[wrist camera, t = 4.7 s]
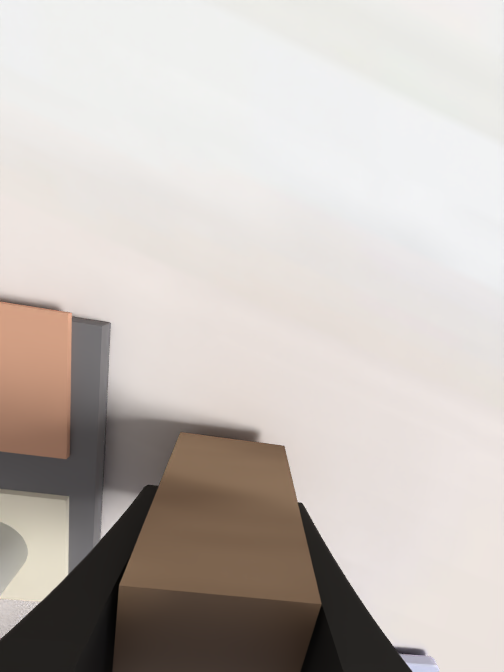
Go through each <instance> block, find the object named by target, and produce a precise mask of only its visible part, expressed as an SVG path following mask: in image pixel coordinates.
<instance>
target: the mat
mask: <svg viewBox="0 0 504 672" xmlns="http://www.w3.org/2000/svg"><path fill="white" fill-rule="evenodd" d="M110 326H111V323H108V322H101V321H95V320H89V319H82V318H76V317H72V313H70V312H63V311H57V310H51V309H44V308H38V307H32V306H25V305H19V304H13V303H6V302H0V522H2V523H4V524H7V525H8V526H10V527H12V528H13V529H15V530H16V531H17V532H18V533H19V534H20V535H21V536H22V538H23V539H24V541H25V543H26V545H27V549H28V556H27V559H26V562H25V563H24V565H23V566H22V567H21V569H20V570H19V571H18V573H17V574H16V575H15V577H14V578H13V579H12V581H11V582H10V583H9V585H8V586H7V587H6V589H5V590H4V591H3V593H2V594H1V595H0V599H8V600H21V601H33V602H41V601H42V600H43V599H44V598H45V597H46V596H47V595H48V594H49V593H50V592H51V591H52V590H53V589H55V588H56V587H57V586H58V585H59V584H60V583H61V582H62V581H63V580H64V578H65V577H66V576H67V575H68V574H69V573H70V572H71V571H72V570H73V569H74V568H75V567H76V566H77V565H78V564H79V563H80V562H81V561H82V560H83V559H84V558H85V557H86V556H87V555H88V553H89V552H90V551H91V550H92V549H93V548H94V547H95V546H96V545H97V544H98V543H99V541H100V532H101V511H102V491H103V470H104V450H105V429H106V408H107V388H108V367H109V346H110Z"/></svg>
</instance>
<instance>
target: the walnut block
mask: <svg viewBox="0 0 504 672" xmlns="http://www.w3.org/2000/svg"><path fill="white" fill-rule="evenodd" d="M320 607H321V600H320V595H319V591H318V587H317V583H316V578H315V574H314V570H313V566H312V561H311V557H310V553H309V549H308V544H307V540H306V536H305V532H304V528H303V523H302V519H301V515H300V511H299V506H298V502H297V498H296V494H295V489H294V485H293V481H292V477H291V472H290V468H289V464H288V460H287V455H286V451H285V447H284V446H281V445H274V444H266V443H259V442H251V441H244V440H237V439H229V438H222V437H214V436H207V435H199V434H192V433H184V432H180V434H179V437H178V439H177V442H176V444H175V447H174V449H173V452H172V454H171V457H170V459H169V462H168V464H167V467H166V469H165V472H164V474H163V477H162V479H161V482H160V484H159V487H158V489H157V492H156V494H155V497H154V499H153V502H152V504H151V507H150V509H149V512H148V514H147V517H146V519H145V522H144V524H143V527H142V529H141V532H140V534H139V537H138V539H137V542H136V544H135V547H134V549H133V552H132V554H131V557H130V559H129V562H128V564H127V567H126V569H125V572H124V574H123V577H122V579H121V582H120V584H119V593H118V606H117V619H116V631H115V644H114V657H113V670H112V672H300V671H301V668H302V665H303V662H304V658H305V655H306V652H307V649H308V646H309V642H310V639H311V636H312V633H313V630H314V627H315V623H316V620H317V617H318V614H319V611H320Z"/></svg>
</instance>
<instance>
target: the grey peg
mask: <svg viewBox="0 0 504 672" xmlns="http://www.w3.org/2000/svg"><path fill="white" fill-rule="evenodd" d="M27 556H28V549H27V545H26V543H25V541H24V539H23V538H22V536H21V535H20V534H19V533H18V532H17V531H16V530H15V529H13V528H12V527H10V526H8V525H7V524H4V523H2V522H0V595H1V594H2V593H3V591H4V590H5V589H6V587H7V586H8V585H9V583H10V582H11V581H12V579H13V578H14V577H15V575H16V574H17V573H18V571H19V570H20V569H21V567H22V566H23V565H24V563H25V562H26V559H27Z"/></svg>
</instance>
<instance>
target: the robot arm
mask: <svg viewBox="0 0 504 672" xmlns="http://www.w3.org/2000/svg"><path fill="white" fill-rule="evenodd" d="M158 487H159V486H154V485H147V486H145V487H144V488H143V490H142V491H141V492H140V494H139V495H138V496H137V498H136V499H135V500H134V501H133V503H132V504H131V505H130V506H129V508H128V509H127V510H126V511H125V513H124V514H123V515H122V516H121V517H120V519H119V520H118V521H117V522H116V523H115V524H114V526H113V527H112V528H111V529H110V530H109V531H108V532H107V533H106V535H105V536H104V537H103V538H102V539H101V540H100V541H99V543H98V544H97V545H96V546H95V547H94V548H93V549H92V550H91V551H90V552H89V553H88V555H87V556H86V557H85V558H84V559H83V560H82V561H81V562H80V563H79V564H78V565H77V566H76V567H75V568H74V569H73V570H72V571H71V572H70V573H69V574H68V575H67V576H66V577H65V578H64V580H63V581H62V582H61V583H60V584H59V585H58V586H57V587H56V588H55V589H53V590H52V591H51V592H50V593H49V594H48V595H47V596H46V597H45V598H44V599H43V600H42V601H41V602H40V603H39V604H38V605H37V606H36V607H35V608H34V609H33V610H32V611H31V612H30V613H29V614H27V615H26V616H25V617H24V618H23V619H22V620H21V621H20V622H19V623H18V624H17V625H16V626H15V627H14V628H12V629H11V630H10V631H9V632H8V633H7V634H6V635H5V636H4V637H2V638H1V639H0V672H112V670H113V657H114V644H115V631H116V619H117V606H118V593H119V584H120V582H121V579H122V577H123V574H124V572H125V569H126V567H127V564H128V562H129V559H130V557H131V554H132V552H133V549H134V547H135V544H136V542H137V539H138V537H139V534H140V532H141V529H142V527H143V524H144V522H145V519H146V517H147V514H148V512H149V509H150V507H151V504H152V502H153V499H154V497H155V494H156V492H157V489H158ZM298 506H299V511H300V515H301V519H302V523H303V528H304V532H305V536H306V540H307V544H308V549H309V553H310V557H311V561H312V566H313V570H314V574H315V578H316V583H317V587H318V591H319V595H320V600H321V607H320V611H319V614H318V617H317V620H316V623H315V627H314V630H313V633H312V636H311V639H310V642H309V646H308V649H307V652H306V655H305V658H304V662H303V665H302V668H301V671H300V672H439V668H438V666H437V664H436V661H435V659H434V658H432V657H431V656H423V655H409V654H399V653H398V652H397V651H396V649H395V648H394V647H393V645H392V644H391V642H390V641H389V640H388V638H387V637H386V636H385V634H384V633H383V632H382V630H381V629H380V627H379V626H378V625H377V623H376V622H375V620H374V619H373V617H372V616H371V615H370V613H369V612H368V610H367V609H366V607H365V606H364V604H363V603H362V601H361V600H360V598H359V597H358V595H357V594H356V592H355V591H354V589H353V588H352V586H351V585H350V583H349V582H348V580H347V578H346V577H345V575H344V574H343V572H342V570H341V569H340V567H339V566H338V564H337V562H336V561H335V559H334V557H333V556H332V554H331V553H330V551H329V549H328V547H327V546H326V544H325V542H324V541H323V539H322V537H321V535H320V534H319V532H318V530H317V528H316V527H315V525H314V523H313V521H312V519H311V518H310V516H309V514H308V512H307V510H306V509H305V507H304V505H303V504H302V503H299V502H298Z"/></svg>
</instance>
